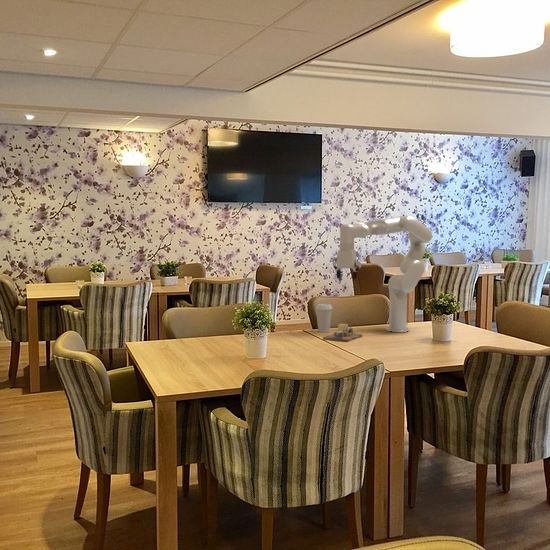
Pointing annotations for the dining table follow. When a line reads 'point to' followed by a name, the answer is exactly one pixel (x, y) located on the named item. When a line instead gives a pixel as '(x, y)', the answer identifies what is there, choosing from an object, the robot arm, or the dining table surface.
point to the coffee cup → (324, 317)
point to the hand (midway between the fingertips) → (346, 278)
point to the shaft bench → (339, 336)
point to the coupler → (343, 328)
